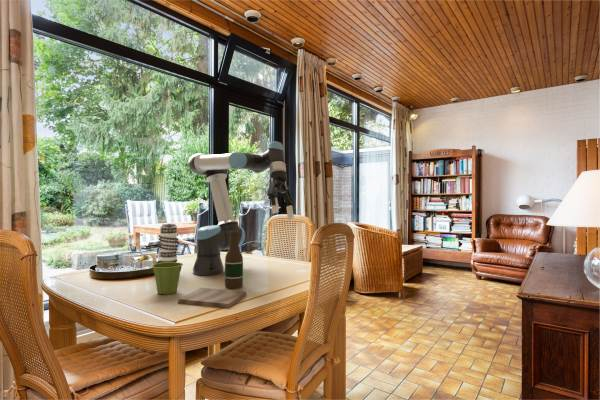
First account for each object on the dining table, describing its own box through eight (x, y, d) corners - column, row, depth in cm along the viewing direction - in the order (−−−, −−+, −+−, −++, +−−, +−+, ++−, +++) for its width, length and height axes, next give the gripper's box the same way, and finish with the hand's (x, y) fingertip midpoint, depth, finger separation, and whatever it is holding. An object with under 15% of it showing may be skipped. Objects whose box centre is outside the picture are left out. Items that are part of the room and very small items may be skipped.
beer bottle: (240, 289, 142) (241, 232, 142) (222, 289, 143) (223, 232, 142) (244, 284, 150) (244, 230, 150) (226, 284, 150) (227, 230, 150)
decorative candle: (157, 272, 171) (158, 223, 171) (177, 271, 175) (177, 222, 175) (158, 276, 163) (159, 224, 162) (179, 275, 167) (179, 224, 166)
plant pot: (189, 291, 139) (189, 263, 139) (164, 298, 129) (164, 268, 129) (169, 287, 145) (170, 260, 145) (144, 293, 135) (145, 265, 135)
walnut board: (177, 303, 124) (177, 299, 124) (200, 291, 139) (200, 287, 139) (228, 308, 119) (228, 303, 119) (246, 295, 134) (246, 291, 134)
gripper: (270, 161, 146) (276, 207, 139) (297, 178, 168) (303, 219, 160) (256, 166, 149) (260, 212, 142) (284, 183, 171) (289, 223, 163)
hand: (283, 216), depth 151 cm, fingers open, 13 cm apart
